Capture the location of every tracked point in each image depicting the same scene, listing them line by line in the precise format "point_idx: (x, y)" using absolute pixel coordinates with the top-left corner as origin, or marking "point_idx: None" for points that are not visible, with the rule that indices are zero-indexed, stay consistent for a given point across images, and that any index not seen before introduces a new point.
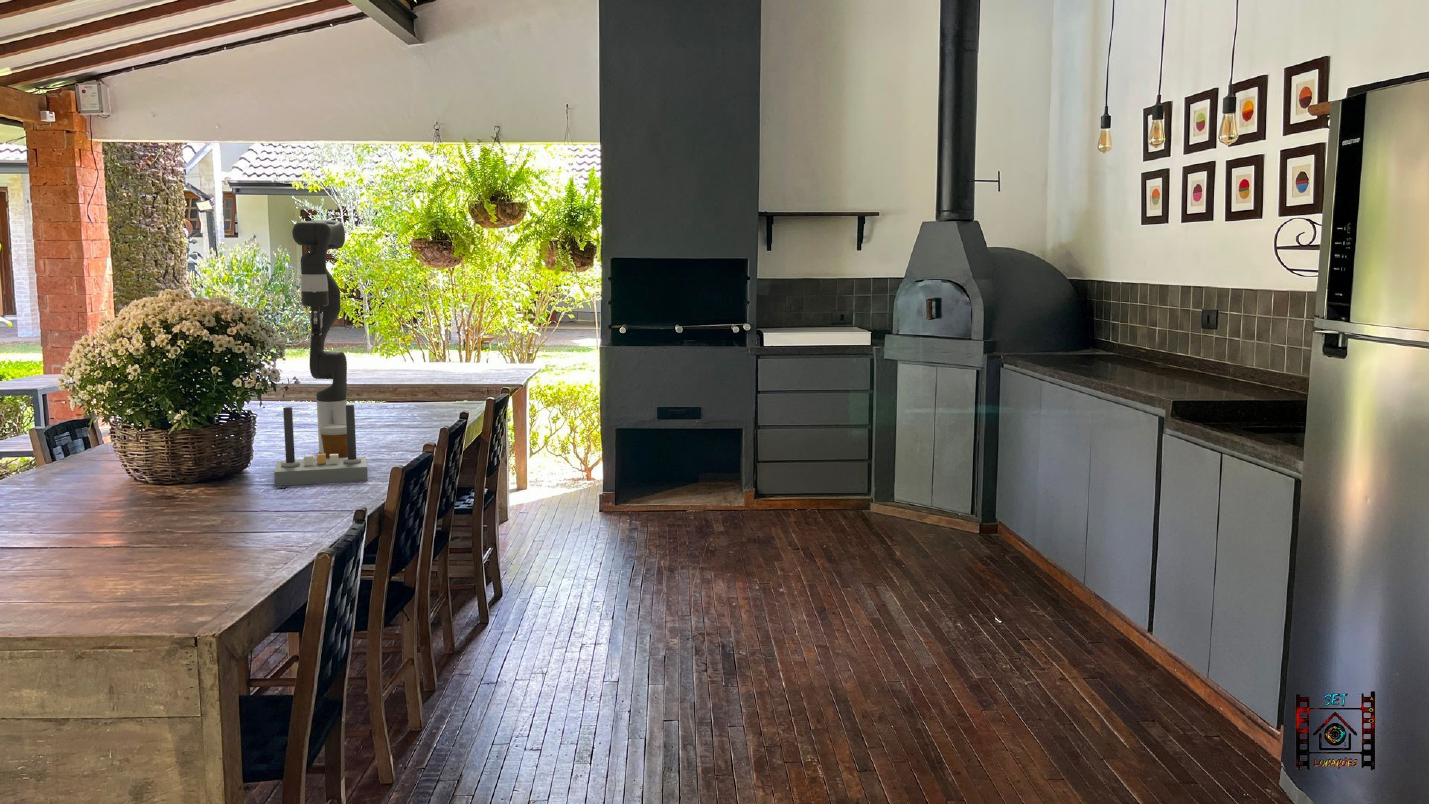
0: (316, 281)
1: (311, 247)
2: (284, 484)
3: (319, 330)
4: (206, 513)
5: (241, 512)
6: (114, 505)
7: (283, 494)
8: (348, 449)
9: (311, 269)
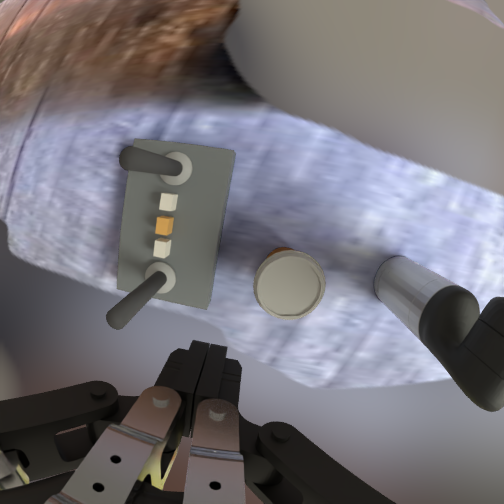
0: None
1: None
2: None
3: (69, 433)
4: (48, 73)
5: (33, 109)
6: None
7: (86, 153)
8: (149, 277)
9: None
